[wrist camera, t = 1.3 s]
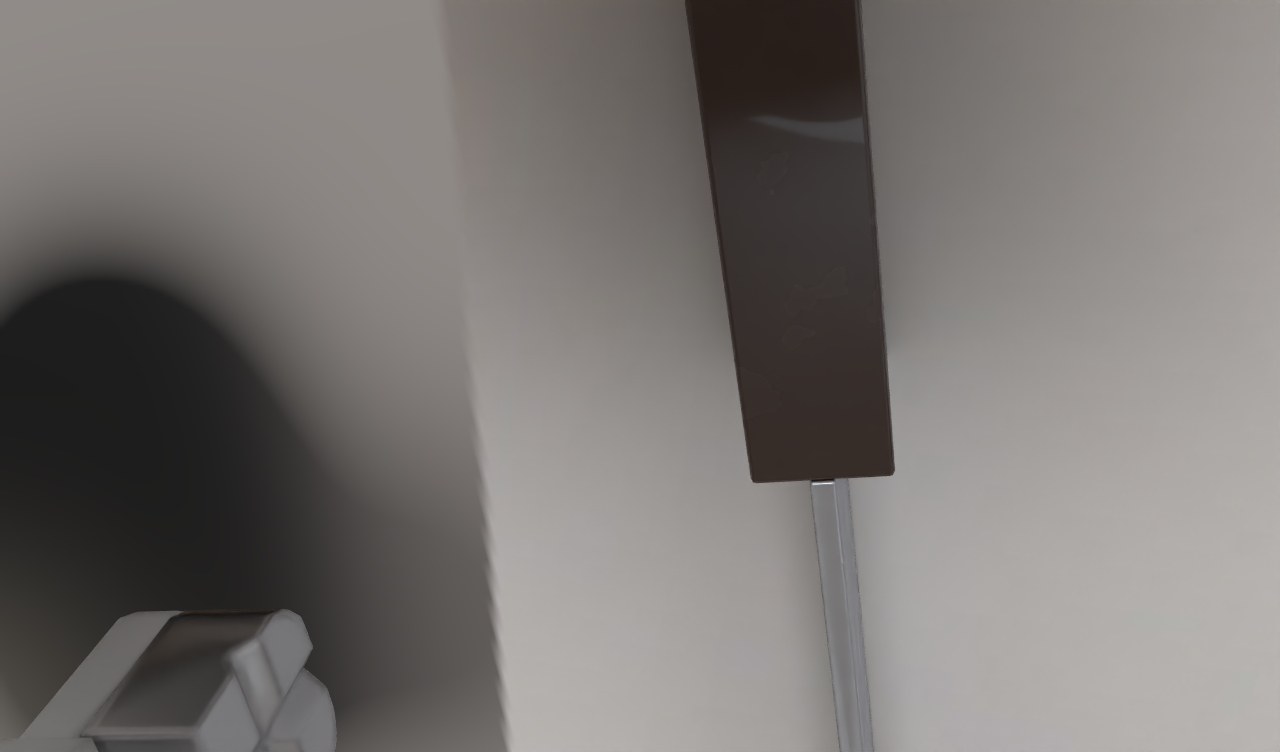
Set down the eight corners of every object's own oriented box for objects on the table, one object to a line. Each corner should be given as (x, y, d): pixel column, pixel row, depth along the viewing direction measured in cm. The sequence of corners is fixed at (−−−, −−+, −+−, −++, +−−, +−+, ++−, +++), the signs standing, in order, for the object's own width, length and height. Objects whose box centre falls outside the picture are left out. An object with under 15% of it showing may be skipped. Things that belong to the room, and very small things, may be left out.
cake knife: (707, -92, 19) (677, -48, 15) (851, -114, 18) (854, -74, 15) (823, 830, 28) (820, 990, 24) (922, 831, 27) (933, 993, 24)
